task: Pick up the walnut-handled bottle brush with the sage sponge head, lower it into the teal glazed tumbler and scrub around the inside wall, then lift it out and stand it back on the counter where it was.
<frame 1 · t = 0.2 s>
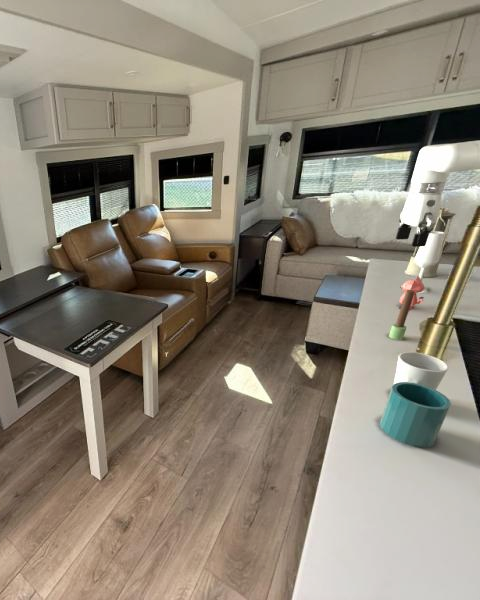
hand: (409, 242, 104), 27 cm above the table, tool pointing down, fingers open, 9 cm apart
lamp: (419, 275, 144), on the table
tumbler: (404, 434, 69), on the table
cup: (407, 402, 78), on the table
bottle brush: (394, 339, 101), on the table
champagne flute: (416, 290, 131), on the table
cat figurine: (406, 308, 118), on the table
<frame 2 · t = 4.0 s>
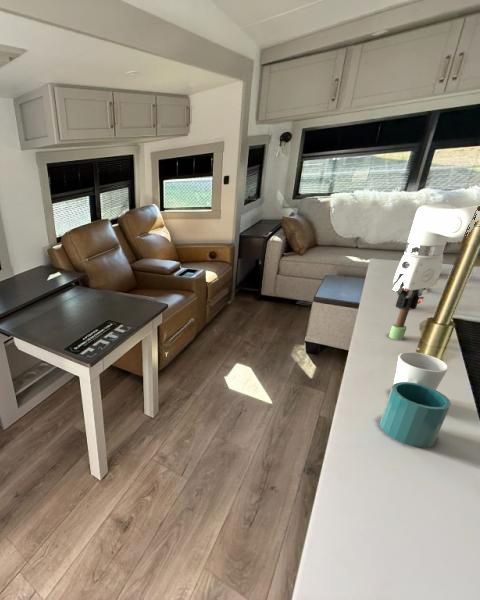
hand: (405, 307, 97), 12 cm above the table, tool pointing down, fingers closed on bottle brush
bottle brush: (395, 339, 101), on the table, touching gripper
everything else where it was.
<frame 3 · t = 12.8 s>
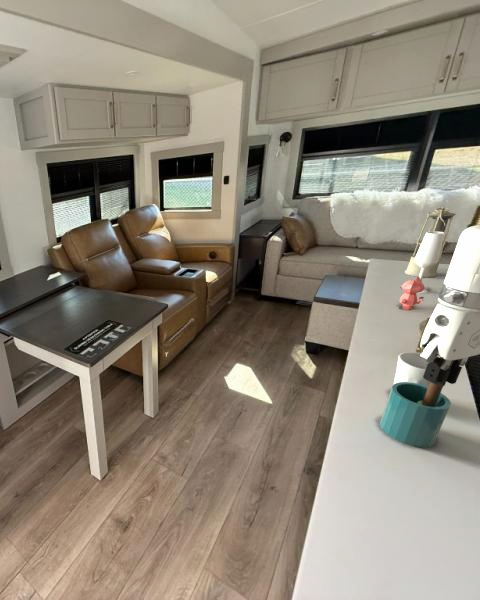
hand: (438, 380, 63), 15 cm above the table, tool pointing down, fingers closed on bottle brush
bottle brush: (420, 424, 67), point 3 cm above the table, touching gripper
everything else where it was.
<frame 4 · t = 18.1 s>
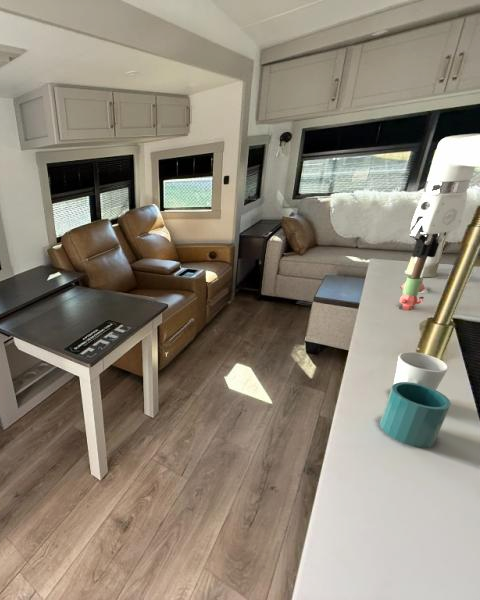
hand: (423, 256, 88), 28 cm above the table, tool pointing down, fingers closed on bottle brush
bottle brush: (409, 293, 93), point 17 cm above the table, touching gripper
everything else where it was.
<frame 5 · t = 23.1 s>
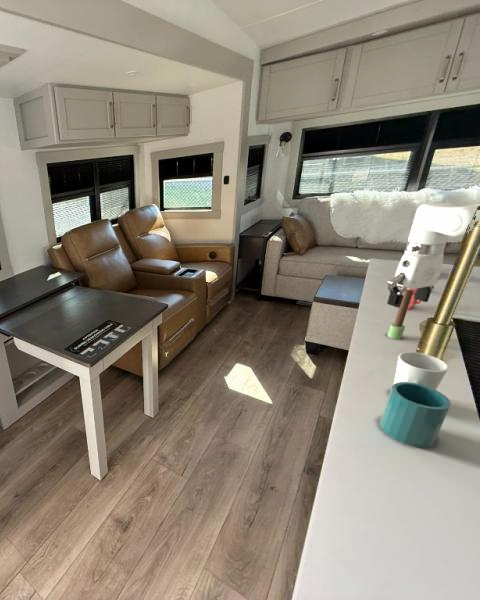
hand: (407, 302, 96), 13 cm above the table, tool pointing down, fingers open, 9 cm apart
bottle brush: (393, 339, 102), on the table
everything else where it was.
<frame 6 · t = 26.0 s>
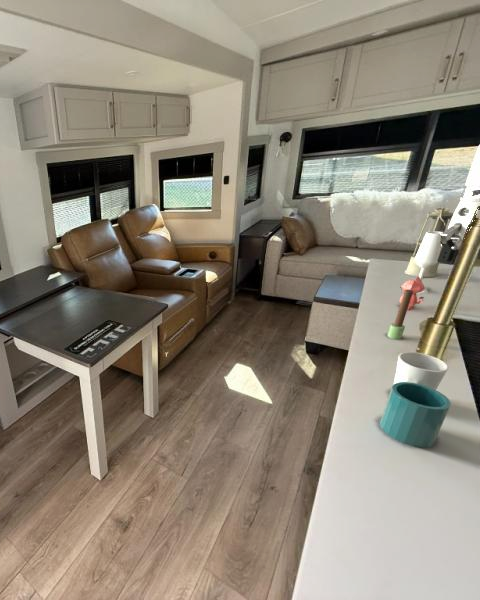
hand: (460, 260, 83), 28 cm above the table, tool pointing down, fingers open, 9 cm apart
nothing on the table moved.
at the end: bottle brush inside the target area (0.4 cm from its centre), on the table; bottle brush tilted 0°; cup moved 0.2 cm from its start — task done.
